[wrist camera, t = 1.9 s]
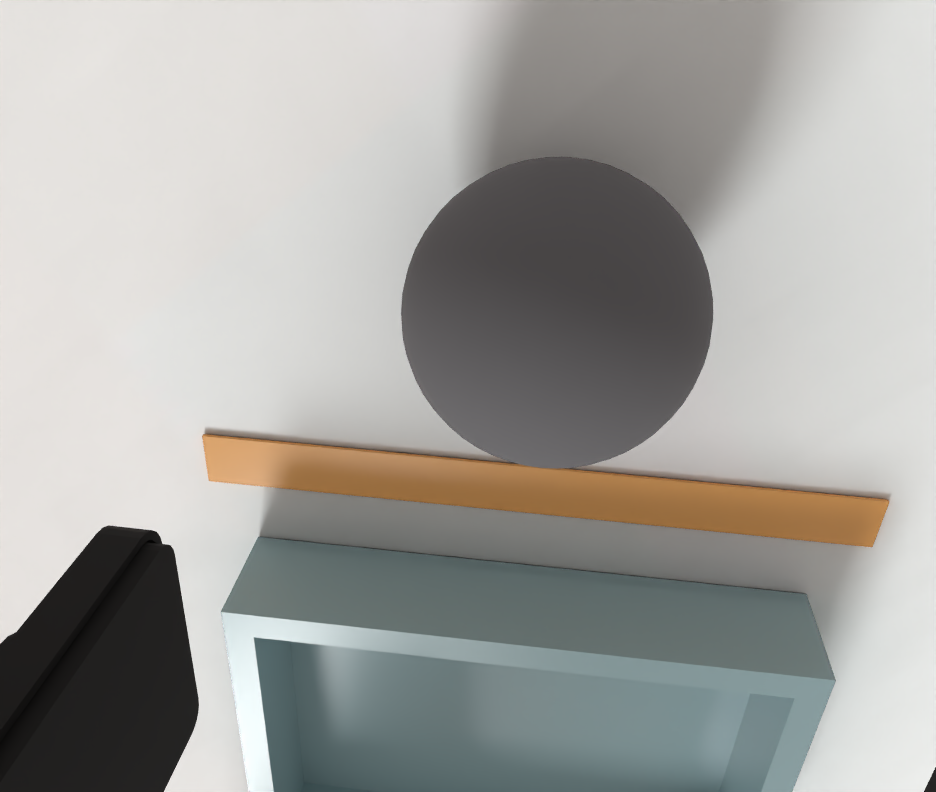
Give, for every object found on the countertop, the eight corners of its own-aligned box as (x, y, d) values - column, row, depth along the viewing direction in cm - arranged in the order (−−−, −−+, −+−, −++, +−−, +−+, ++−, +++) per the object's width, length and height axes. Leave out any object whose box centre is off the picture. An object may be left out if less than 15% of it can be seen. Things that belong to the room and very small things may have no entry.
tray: (203, 434, 22) (156, 502, 20) (888, 499, 21) (931, 581, 19) (254, 779, 30) (224, 860, 28) (758, 842, 29) (776, 934, 26)
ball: (428, 115, 18) (368, 201, 12) (715, 133, 17) (777, 232, 12) (424, 364, 21) (375, 515, 15) (668, 385, 20) (700, 549, 15)
